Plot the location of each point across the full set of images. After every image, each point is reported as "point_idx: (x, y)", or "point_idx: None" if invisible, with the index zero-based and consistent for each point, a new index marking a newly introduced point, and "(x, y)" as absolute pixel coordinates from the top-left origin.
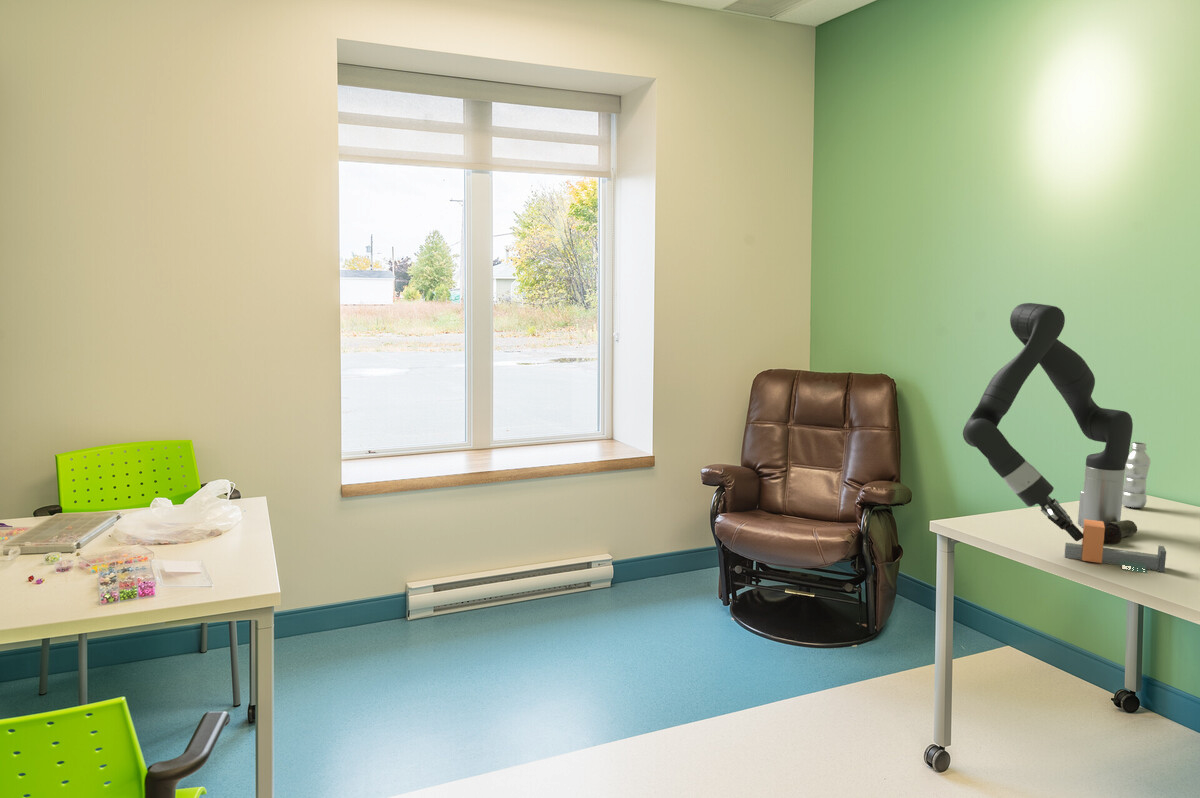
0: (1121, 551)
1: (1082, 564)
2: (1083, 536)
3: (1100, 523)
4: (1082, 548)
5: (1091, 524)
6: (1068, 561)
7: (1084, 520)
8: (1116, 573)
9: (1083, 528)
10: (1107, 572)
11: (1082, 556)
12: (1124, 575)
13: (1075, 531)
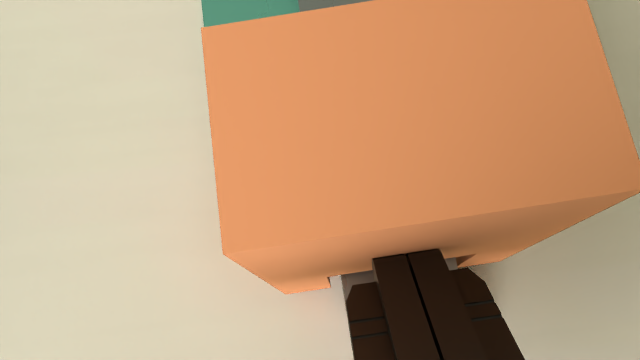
0: (349, 3)
1: (558, 252)
2: (437, 250)
3: (349, 40)
4: (453, 262)
5: (513, 124)
6: (554, 352)
7: (314, 238)
8: (608, 47)
9: (279, 265)
10: (631, 93)
11: (500, 258)
12: (615, 7)
13: (505, 330)
